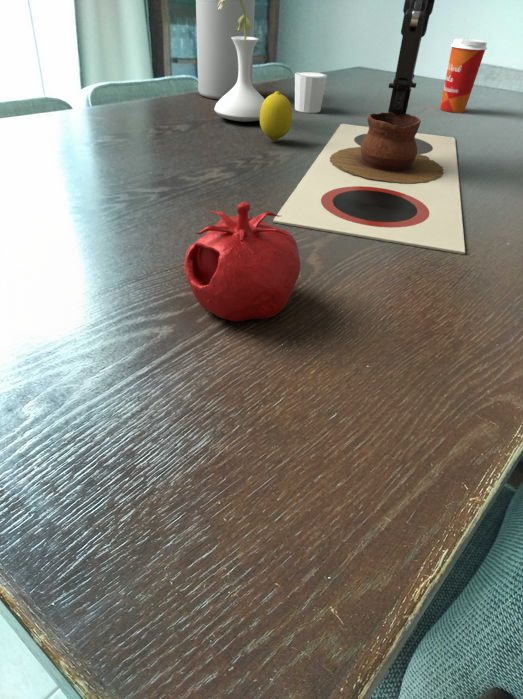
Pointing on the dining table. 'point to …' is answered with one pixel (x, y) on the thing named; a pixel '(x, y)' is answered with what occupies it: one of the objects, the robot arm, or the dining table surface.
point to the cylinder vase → (220, 44)
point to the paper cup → (461, 73)
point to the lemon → (275, 116)
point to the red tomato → (243, 267)
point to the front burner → (375, 206)
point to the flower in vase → (241, 80)
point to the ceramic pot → (389, 152)
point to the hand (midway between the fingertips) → (392, 133)
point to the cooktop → (436, 194)
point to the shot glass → (309, 91)
